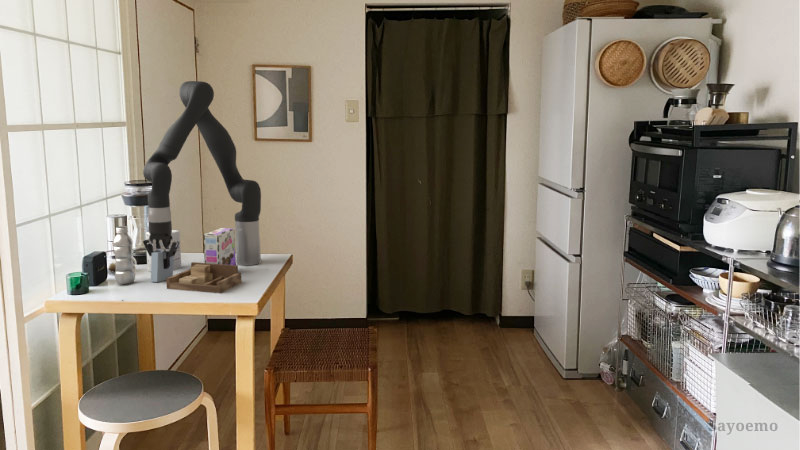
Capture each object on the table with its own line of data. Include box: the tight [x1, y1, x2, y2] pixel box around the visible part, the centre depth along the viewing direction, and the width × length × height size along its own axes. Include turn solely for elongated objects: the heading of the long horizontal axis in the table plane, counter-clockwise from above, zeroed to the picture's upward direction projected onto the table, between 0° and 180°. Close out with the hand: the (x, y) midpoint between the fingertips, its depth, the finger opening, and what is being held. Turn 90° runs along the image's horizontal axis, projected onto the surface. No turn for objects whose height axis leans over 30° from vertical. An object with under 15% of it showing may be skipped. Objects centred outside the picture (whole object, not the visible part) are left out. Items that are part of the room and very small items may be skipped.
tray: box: [165, 261, 242, 294], centre depth 219 cm, size 14×20×7 cm
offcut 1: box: [179, 276, 199, 284], centre depth 217 cm, size 4×5×3 cm
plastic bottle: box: [112, 225, 136, 285], centre depth 224 cm, size 6×7×20 cm
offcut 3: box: [189, 273, 213, 285], centre depth 222 cm, size 5×6×3 cm
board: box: [150, 252, 174, 283], centre depth 227 cm, size 9×2×10 cm, turn 165°
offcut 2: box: [189, 264, 210, 276], centre depth 222 cm, size 4×5×3 cm
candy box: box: [203, 227, 237, 265], centre depth 238 cm, size 14×6×16 cm, turn 168°
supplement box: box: [145, 229, 182, 272], centre depth 244 cm, size 9×9×15 cm
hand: (162, 268), depth 227 cm, fingers closed on board, 2 cm apart
